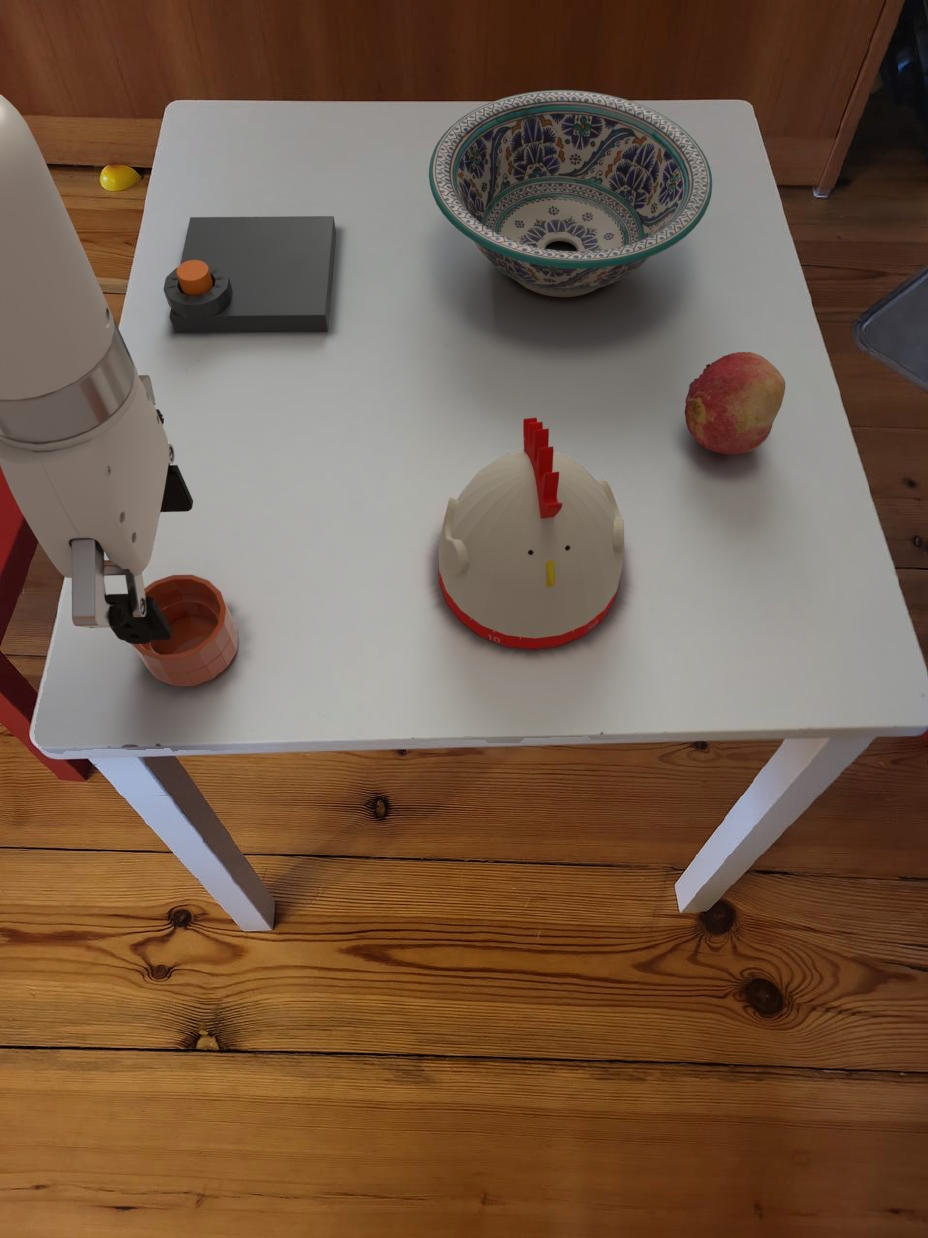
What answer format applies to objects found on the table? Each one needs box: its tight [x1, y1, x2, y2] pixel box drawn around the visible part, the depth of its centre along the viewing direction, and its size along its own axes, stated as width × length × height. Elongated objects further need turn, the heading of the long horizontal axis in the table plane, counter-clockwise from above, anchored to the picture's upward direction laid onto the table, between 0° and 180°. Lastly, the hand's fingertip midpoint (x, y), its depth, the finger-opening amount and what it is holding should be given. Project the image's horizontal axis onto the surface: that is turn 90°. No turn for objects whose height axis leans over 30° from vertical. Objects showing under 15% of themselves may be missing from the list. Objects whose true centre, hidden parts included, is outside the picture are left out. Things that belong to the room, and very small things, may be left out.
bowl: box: [428, 89, 713, 298], centre depth 84 cm, size 25×25×10 cm
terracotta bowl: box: [131, 574, 239, 687], centre depth 65 cm, size 7×7×5 cm
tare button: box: [176, 260, 213, 296], centre depth 81 cm, size 3×3×2 cm
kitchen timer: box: [438, 417, 625, 650], centre depth 64 cm, size 14×14×15 cm
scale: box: [163, 215, 337, 334], centre depth 85 cm, size 14×14×4 cm
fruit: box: [684, 351, 786, 456], centre depth 73 cm, size 8×8×8 cm
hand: (158, 569), depth 58 cm, fingers open, 9 cm apart
